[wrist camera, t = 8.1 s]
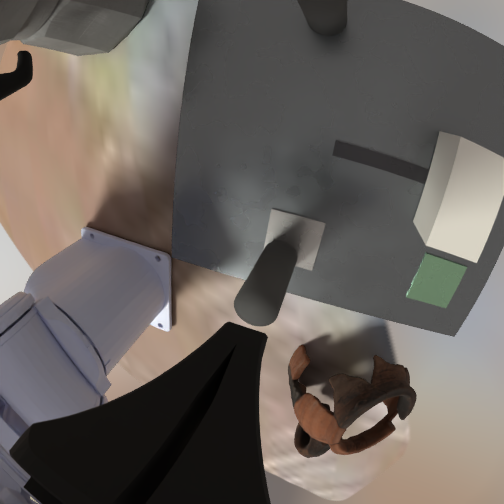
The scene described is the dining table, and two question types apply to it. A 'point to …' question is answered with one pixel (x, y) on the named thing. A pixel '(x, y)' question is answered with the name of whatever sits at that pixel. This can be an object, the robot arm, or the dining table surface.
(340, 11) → the black cylinder
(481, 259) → the panel
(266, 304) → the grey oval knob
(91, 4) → the coffeepot
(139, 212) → the dining table surface
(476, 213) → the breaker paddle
